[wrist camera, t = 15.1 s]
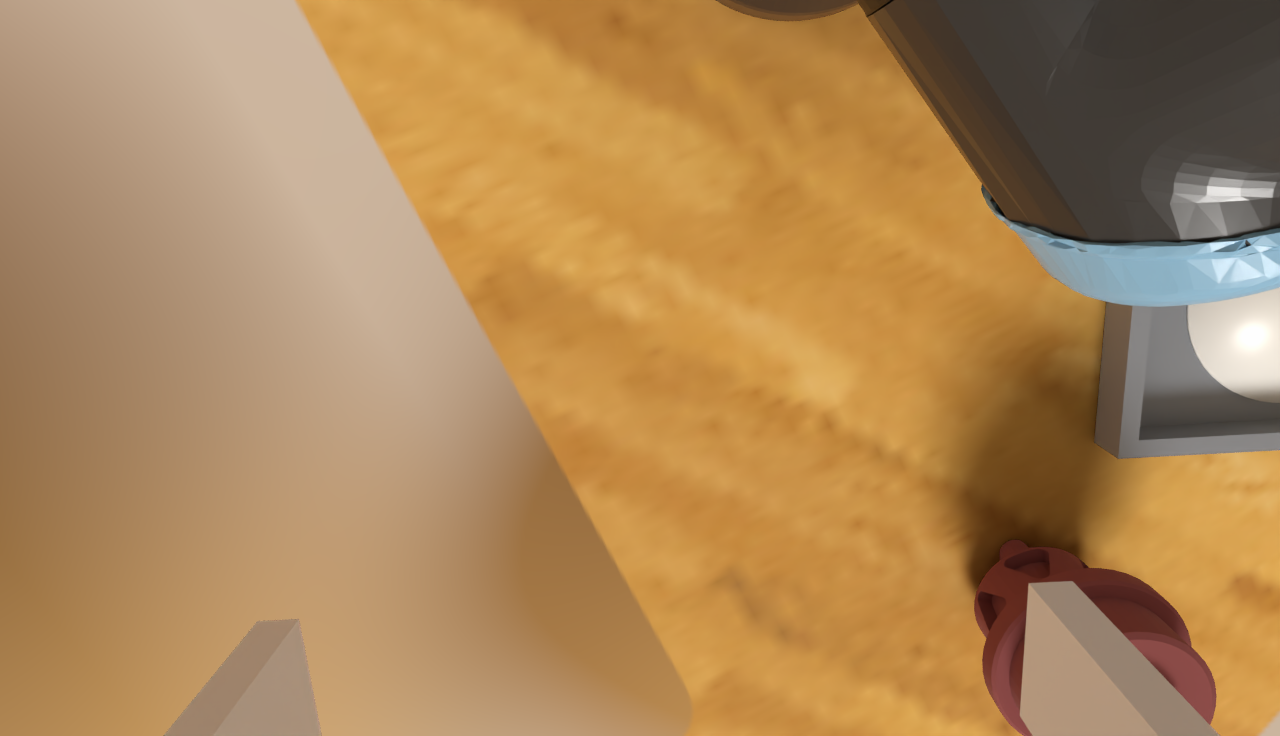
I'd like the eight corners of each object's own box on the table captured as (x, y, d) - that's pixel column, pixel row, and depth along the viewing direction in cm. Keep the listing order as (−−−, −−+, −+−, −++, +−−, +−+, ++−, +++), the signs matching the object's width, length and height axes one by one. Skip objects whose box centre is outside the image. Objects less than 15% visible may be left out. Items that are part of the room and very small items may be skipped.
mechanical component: (963, 678, 51) (918, 542, 49) (1123, 629, 50) (1086, 486, 48) (1057, 840, 40) (1004, 670, 37) (1269, 780, 38) (1229, 601, 36)
